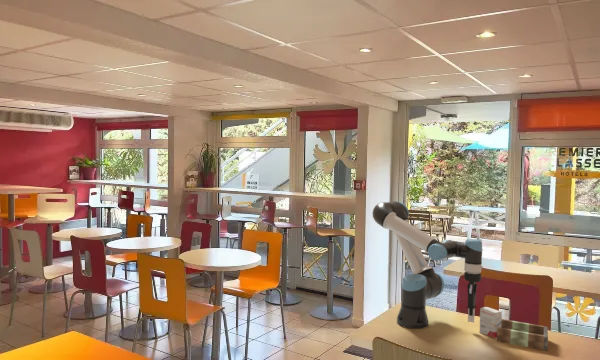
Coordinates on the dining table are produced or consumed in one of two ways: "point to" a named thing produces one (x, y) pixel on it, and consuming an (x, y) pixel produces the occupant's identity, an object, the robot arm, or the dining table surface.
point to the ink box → (490, 321)
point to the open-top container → (523, 334)
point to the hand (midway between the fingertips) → (471, 321)
